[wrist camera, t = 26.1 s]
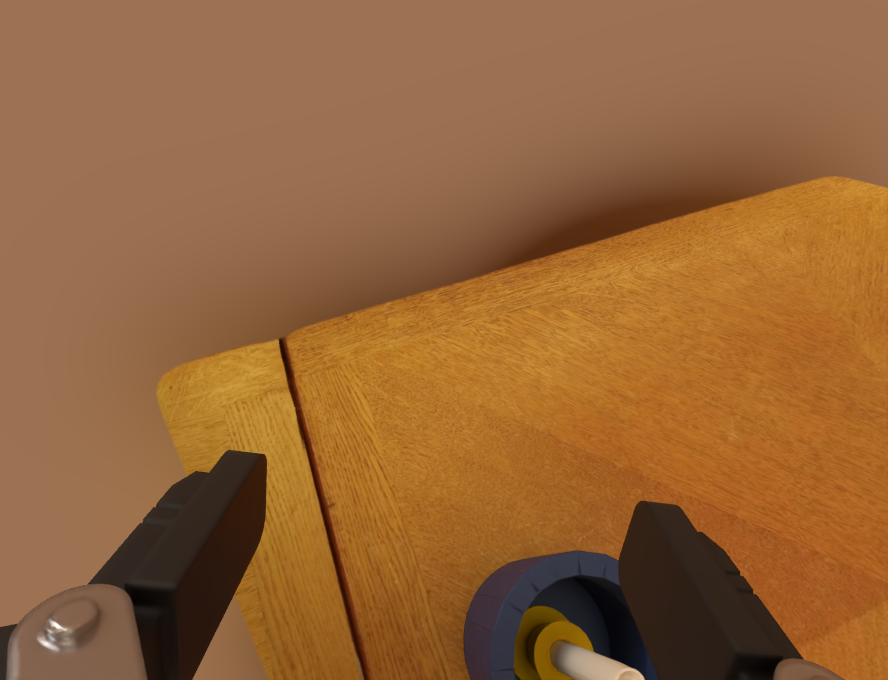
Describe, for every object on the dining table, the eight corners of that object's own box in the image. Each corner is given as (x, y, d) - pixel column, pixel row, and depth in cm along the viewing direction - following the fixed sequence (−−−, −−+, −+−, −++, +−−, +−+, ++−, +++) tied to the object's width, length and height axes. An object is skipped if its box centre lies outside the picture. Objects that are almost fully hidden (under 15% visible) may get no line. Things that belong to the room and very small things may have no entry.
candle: (553, 707, 34) (664, 796, 20) (491, 655, 35) (557, 705, 21) (589, 636, 36) (712, 672, 22) (530, 589, 37) (613, 595, 23)
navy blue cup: (482, 756, 34) (521, 830, 24) (449, 575, 38) (470, 574, 28) (635, 712, 35) (729, 764, 26) (585, 545, 40) (649, 534, 30)
